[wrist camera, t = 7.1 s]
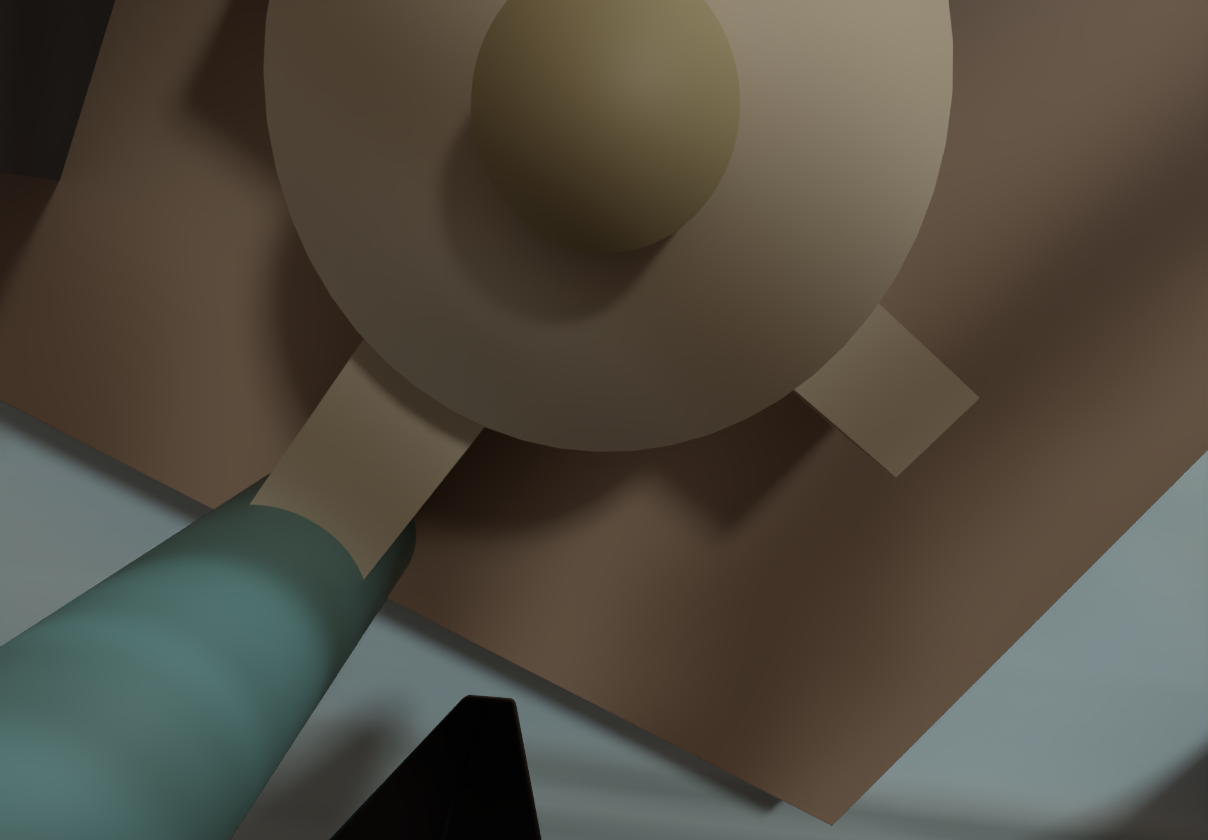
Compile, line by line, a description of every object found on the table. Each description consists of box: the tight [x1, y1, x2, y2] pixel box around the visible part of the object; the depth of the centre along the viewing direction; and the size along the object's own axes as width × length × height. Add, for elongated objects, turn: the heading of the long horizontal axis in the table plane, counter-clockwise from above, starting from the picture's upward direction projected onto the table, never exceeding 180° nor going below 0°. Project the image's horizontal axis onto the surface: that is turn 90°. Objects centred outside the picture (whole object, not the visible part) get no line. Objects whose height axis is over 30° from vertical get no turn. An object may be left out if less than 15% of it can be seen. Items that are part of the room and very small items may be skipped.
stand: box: [0, 0, 1208, 826], centre depth 7 cm, size 20×16×6 cm
